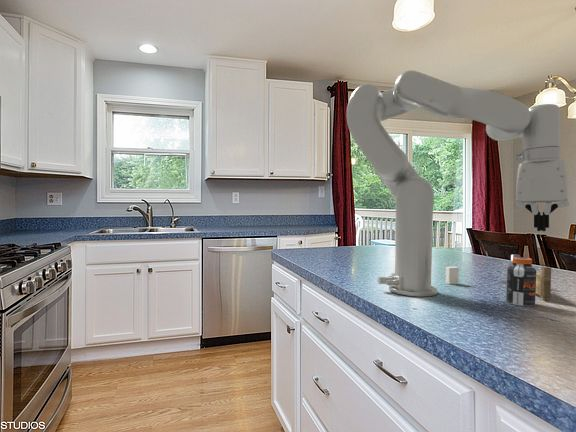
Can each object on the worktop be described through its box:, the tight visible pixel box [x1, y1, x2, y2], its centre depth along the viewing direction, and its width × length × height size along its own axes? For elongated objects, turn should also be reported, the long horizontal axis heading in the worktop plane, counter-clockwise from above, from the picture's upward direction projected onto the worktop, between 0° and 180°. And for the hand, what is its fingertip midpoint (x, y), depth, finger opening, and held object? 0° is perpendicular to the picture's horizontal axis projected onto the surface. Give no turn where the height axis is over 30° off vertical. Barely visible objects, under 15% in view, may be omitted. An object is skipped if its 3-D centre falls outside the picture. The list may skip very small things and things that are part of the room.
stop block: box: [444, 266, 460, 285], centre depth 108 cm, size 3×2×5 cm, turn 97°
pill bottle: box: [505, 256, 537, 307], centre depth 86 cm, size 6×6×11 cm
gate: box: [536, 266, 552, 301], centre depth 97 cm, size 18×2×8 cm, turn 167°
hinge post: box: [500, 253, 521, 285], centre depth 107 cm, size 5×5×9 cm
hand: (541, 230), depth 87 cm, fingers closed
